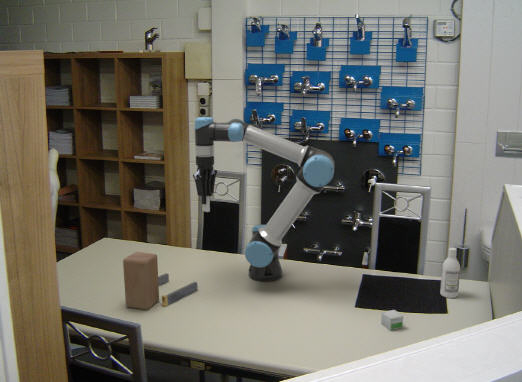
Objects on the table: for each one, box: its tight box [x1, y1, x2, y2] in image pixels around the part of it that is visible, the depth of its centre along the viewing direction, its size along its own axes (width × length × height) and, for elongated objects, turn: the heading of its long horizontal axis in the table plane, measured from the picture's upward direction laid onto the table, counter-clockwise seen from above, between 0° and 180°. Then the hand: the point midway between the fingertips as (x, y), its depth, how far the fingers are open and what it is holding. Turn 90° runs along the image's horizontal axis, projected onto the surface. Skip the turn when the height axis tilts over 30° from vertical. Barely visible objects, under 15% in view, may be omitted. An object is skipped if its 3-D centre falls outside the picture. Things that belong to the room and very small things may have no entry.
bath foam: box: [439, 247, 461, 299], centre depth 221 cm, size 7×7×20 cm
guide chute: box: [158, 273, 198, 308], centre depth 225 cm, size 18×19×4 cm
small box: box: [380, 309, 404, 331], centre depth 197 cm, size 6×6×5 cm
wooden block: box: [122, 251, 160, 311], centre depth 213 cm, size 10×10×20 cm
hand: (206, 211), depth 228 cm, fingers closed
